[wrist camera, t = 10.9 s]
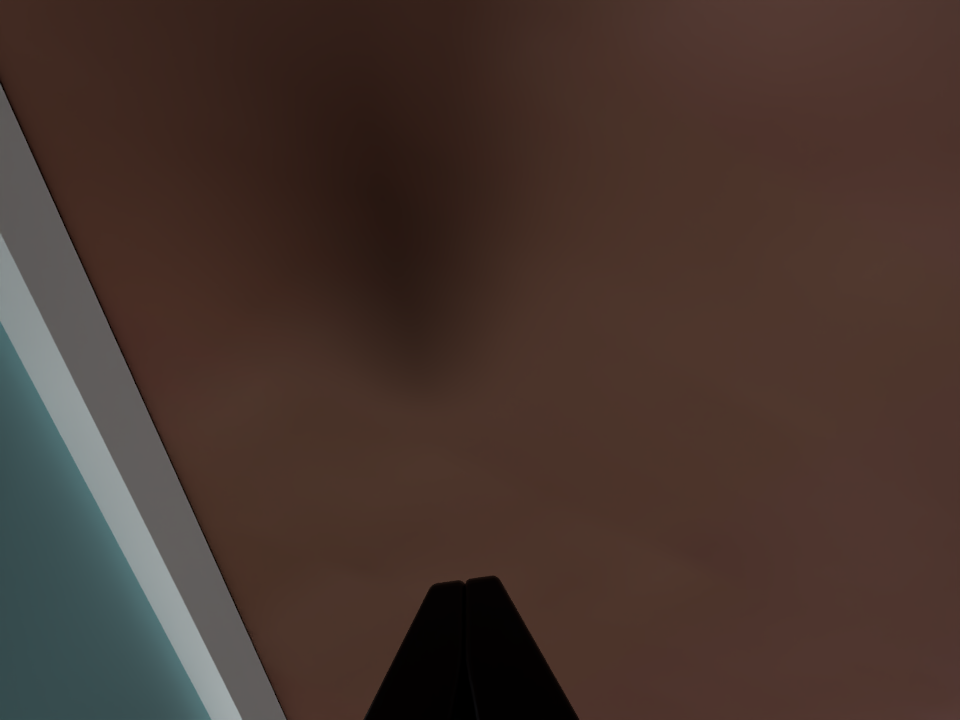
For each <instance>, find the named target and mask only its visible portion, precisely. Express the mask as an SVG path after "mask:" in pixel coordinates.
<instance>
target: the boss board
mask: <svg viewBox="0 0 960 720" xmlns="http://www.w3.org/2000/svg"><path fill="white" fill-rule="evenodd" d="M0 322H1V323H2V325H3V327H4V329H5V331H6V333H7V335H8V337H9V339H10V340H11V342H12V344H13V346H14V348H15V350H16V352H17V354H18V356H19V357H20V359H21V361H22V363H23V365H24V367H25V369H26V371H27V373H28V374H29V376H30V378H31V380H32V382H33V384H34V386H35V388H36V389H37V391H38V393H39V395H40V397H41V399H42V401H43V403H44V405H45V406H46V408H47V410H48V412H49V414H50V416H51V418H52V420H53V422H54V423H55V425H56V427H57V429H58V431H59V433H60V435H61V437H62V439H63V440H64V442H65V444H66V446H67V448H68V450H69V452H70V454H71V456H72V457H73V459H74V461H75V463H76V465H77V467H78V469H79V471H80V473H81V474H82V476H83V478H84V480H85V482H86V484H87V486H88V488H89V489H90V491H91V493H92V495H93V497H94V499H95V501H96V503H97V505H98V506H99V508H100V510H101V512H102V514H103V516H104V518H105V520H106V522H107V523H108V525H109V527H110V529H111V531H112V533H113V535H114V537H115V539H116V540H117V542H118V544H119V546H120V548H121V550H122V552H123V554H124V556H125V557H126V559H127V561H128V563H129V565H130V567H131V569H132V571H133V573H134V574H135V576H136V578H137V580H138V582H139V584H140V586H141V588H142V589H143V591H144V593H145V595H146V597H147V599H148V601H149V603H150V605H151V606H152V608H153V610H154V612H155V614H156V616H157V618H158V620H159V622H160V623H161V625H162V627H163V629H164V631H165V633H166V635H167V637H168V639H169V640H170V642H171V644H172V646H173V648H174V650H175V652H176V654H177V656H178V657H179V659H180V661H181V663H182V665H183V667H184V669H185V671H186V673H187V674H188V676H189V678H190V680H191V682H192V684H193V686H194V688H195V689H196V691H197V693H198V695H199V697H200V699H201V701H202V703H203V705H204V706H205V708H206V710H207V712H208V714H209V716H210V718H211V720H286V718H285V716H284V713H283V711H282V709H281V707H280V704H279V702H278V700H277V698H276V696H275V693H274V691H273V689H272V687H271V684H270V682H269V680H268V678H267V676H266V673H265V671H264V669H263V667H262V664H261V662H260V660H259V658H258V656H257V653H256V651H255V649H254V647H253V644H252V642H251V640H250V638H249V636H248V633H247V631H246V629H245V627H244V624H243V622H242V620H241V618H240V616H239V613H238V611H237V609H236V607H235V604H234V602H233V600H232V598H231V596H230V593H229V591H228V589H227V587H226V584H225V582H224V580H223V578H222V576H221V573H220V571H219V569H218V567H217V564H216V562H215V560H214V558H213V556H212V553H211V551H210V549H209V547H208V544H207V542H206V540H205V538H204V536H203V533H202V531H201V529H200V527H199V524H198V522H197V520H196V518H195V516H194V513H193V511H192V509H191V507H190V504H189V502H188V500H187V498H186V495H185V493H184V491H183V489H182V487H181V484H180V482H179V480H178V478H177V475H176V473H175V471H174V469H173V467H172V464H171V462H170V460H169V458H168V455H167V453H166V451H165V449H164V447H163V444H162V442H161V440H160V438H159V435H158V433H157V431H156V429H155V427H154V424H153V422H152V420H151V418H150V415H149V413H148V411H147V409H146V407H145V404H144V402H143V400H142V398H141V395H140V393H139V391H138V389H137V387H136V384H135V382H134V380H133V378H132V375H131V373H130V371H129V369H128V367H127V364H126V362H125V360H124V358H123V355H122V353H121V351H120V349H119V347H118V344H117V342H116V340H115V338H114V335H113V333H112V331H111V329H110V327H109V324H108V322H107V320H106V318H105V315H104V313H103V311H102V309H101V307H100V304H99V302H98V300H97V298H96V295H95V293H94V291H93V289H92V287H91V284H90V282H89V280H88V278H87V275H86V273H85V271H84V269H83V267H82V264H81V262H80V260H79V258H78V255H77V253H76V251H75V249H74V247H73V244H72V242H71V240H70V238H69V235H68V233H67V231H66V229H65V226H64V224H63V222H62V220H61V218H60V215H59V213H58V211H57V209H56V206H55V204H54V202H53V200H52V198H51V195H50V193H49V191H48V189H47V186H46V184H45V182H44V180H43V178H42V175H41V173H40V171H39V169H38V166H37V164H36V162H35V160H34V158H33V155H32V153H31V151H30V149H29V146H28V144H27V142H26V140H25V138H24V135H23V133H22V131H21V129H20V126H19V124H18V122H17V120H16V118H15V115H14V113H13V111H12V109H11V106H10V104H9V102H8V100H7V98H6V95H5V93H4V91H3V89H2V86H1V84H0Z"/></svg>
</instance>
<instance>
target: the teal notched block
mask: <svg viewBox="0 0 960 720" xmlns="http://www.w3.org/2000/svg"><path fill="white" fill-rule="evenodd" d="M0 720H211V718H210V716H209V714H208V712H207V710H206V708H205V706H204V705H203V703H202V701H201V699H200V697H199V695H198V693H197V691H196V689H195V688H194V686H193V684H192V682H191V680H190V678H189V676H188V674H187V673H186V671H185V669H184V667H183V665H182V663H181V661H180V659H179V657H178V656H177V654H176V652H175V650H174V648H173V646H172V644H171V642H170V640H169V639H168V637H167V635H166V633H165V631H164V629H163V627H162V625H161V623H160V622H159V620H158V618H157V616H156V614H155V612H154V610H153V608H152V606H151V605H150V603H149V601H148V599H147V597H146V595H145V593H144V591H143V589H142V588H141V586H140V584H139V582H138V580H137V578H136V576H135V574H134V573H133V571H132V569H131V567H130V565H129V563H128V561H127V559H126V557H125V556H124V554H123V552H122V550H121V548H120V546H119V544H118V542H117V540H116V539H115V537H114V535H113V533H112V531H111V529H110V527H109V525H108V523H107V522H106V520H105V518H104V516H103V514H102V512H101V510H100V508H99V506H98V505H97V503H96V501H95V499H94V497H93V495H92V493H91V491H90V489H89V488H88V486H87V484H86V482H85V480H84V478H83V476H82V474H81V473H80V471H79V469H78V467H77V465H76V463H75V461H74V459H73V457H72V456H71V454H70V452H69V450H68V448H67V446H66V444H65V442H64V440H63V439H62V437H61V435H60V433H59V431H58V429H57V427H56V425H55V423H54V422H53V420H52V418H51V416H50V414H49V412H48V410H47V408H46V406H45V405H44V403H43V401H42V399H41V397H40V395H39V393H38V391H37V389H36V388H35V386H34V384H33V382H32V380H31V378H30V376H29V374H28V373H27V371H26V369H25V367H24V365H23V363H22V361H21V359H20V357H19V356H18V354H17V352H16V350H15V348H14V346H13V344H12V342H11V340H10V339H9V337H8V335H7V333H6V331H5V329H4V327H3V325H2V323H1V322H0Z"/></svg>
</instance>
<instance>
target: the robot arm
mask: <svg viewBox="0 0 960 720" xmlns="http://www.w3.org/2000/svg"><path fill="white" fill-rule="evenodd" d="M364 720H579V718H578V716H577V714H576V713H575V711H574V709H573V707H572V706H571V704H570V702H569V700H568V699H567V697H566V695H565V693H564V692H563V690H562V688H561V686H560V685H559V683H558V681H557V679H556V678H555V676H554V674H553V672H552V671H551V669H550V667H549V665H548V664H547V662H546V660H545V658H544V656H543V655H542V653H541V651H540V649H539V648H538V646H537V644H536V642H535V641H534V639H533V637H532V635H531V634H530V632H529V630H528V628H527V627H526V625H525V623H524V621H523V620H522V618H521V616H520V614H519V613H518V611H517V609H516V607H515V605H514V604H513V602H512V600H511V598H510V597H509V595H508V593H507V591H506V590H505V588H504V586H503V584H502V583H501V581H500V579H499V578H498V577H496V576H487V577H479V578H472V579H469V580H467V581H466V584H464V582H462V581H460V580H458V581H450V582H443V583H436V584H434V585H432V586H431V587H430V589H429V591H428V592H427V594H426V596H425V598H424V600H423V602H422V604H421V606H420V608H419V610H418V612H417V614H416V616H415V618H414V620H413V622H412V624H411V626H410V628H409V630H408V632H407V634H406V636H405V638H404V640H403V642H402V644H401V646H400V648H399V650H398V652H397V654H396V656H395V658H394V660H393V662H392V664H391V666H390V668H389V670H388V672H387V674H386V676H385V678H384V680H383V682H382V684H381V686H380V688H379V690H378V692H377V694H376V696H375V698H374V700H373V702H372V704H371V706H370V708H369V710H368V712H367V714H366V716H365V718H364Z"/></svg>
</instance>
